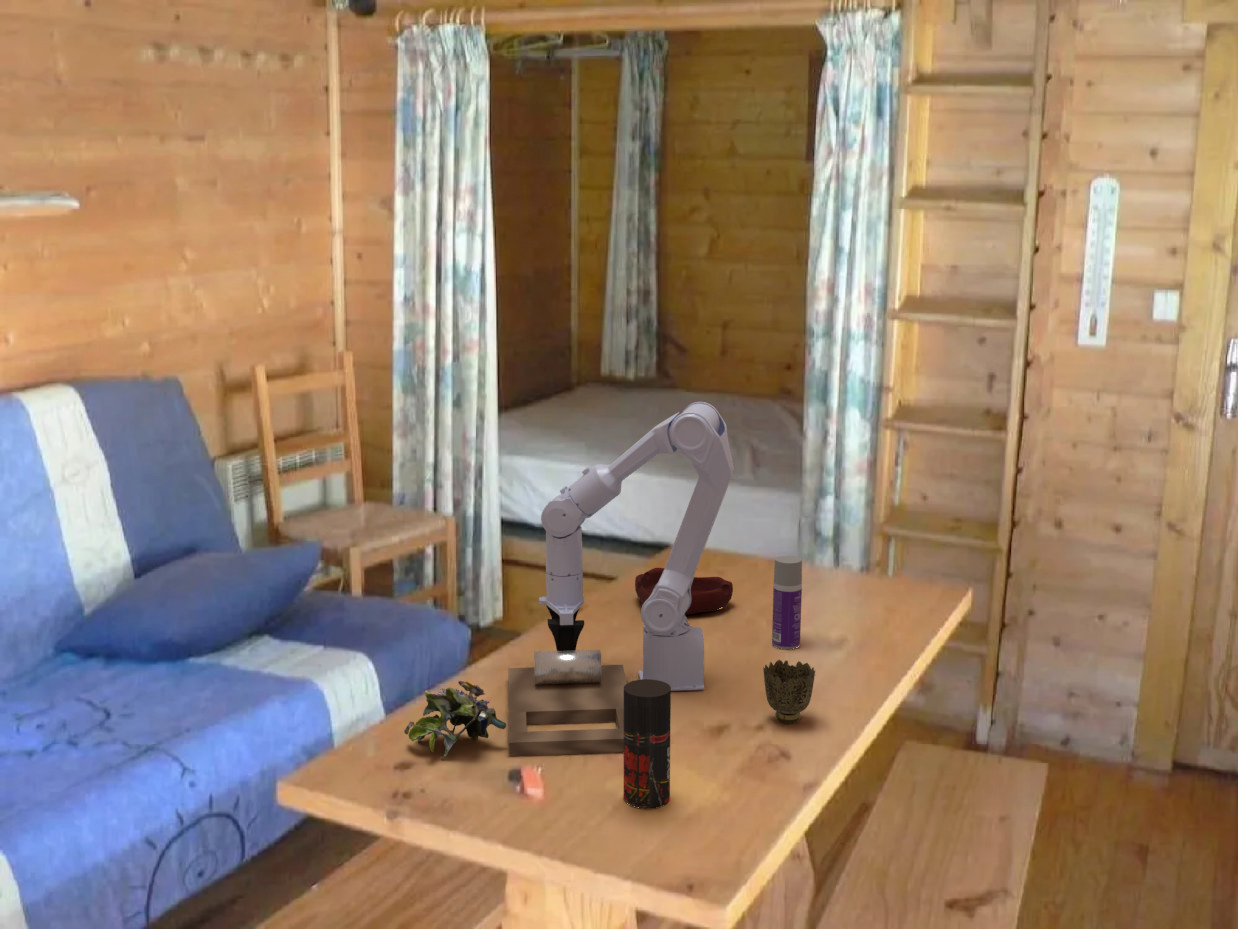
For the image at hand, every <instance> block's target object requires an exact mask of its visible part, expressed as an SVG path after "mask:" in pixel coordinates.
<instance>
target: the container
mask: <svg viewBox="0 0 1238 929" xmlns="http://www.w3.org/2000/svg"><path fill="white" fill-rule="evenodd" d="M802 562H803V558H801V557H799V556H795V555H778V556H776V557H775V558H774V569H773V570H774V571H773V572H774V573H773V587H772V588H773V591H772V627H771V628H772V633H771V634H772V635H771V645H772V644H773V645H774V646H775V647H777V648H776V649H778V648H782V649H781V650H783V649H792V650H794V649H793V648H796V647H798V646H799V645H800V646H801V628H802V627H801V626H802V624H801V622H802V621H801V620H802V593H803V592H802V590H803V589H802V588H803V587H802V586H803V585H802V584H803V581H802V580H803V568H802V567H803V563H802ZM773 645H772V646H773ZM775 647H774V648H775Z"/></svg>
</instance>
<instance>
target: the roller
mask: <svg viewBox="0 0 1238 929" xmlns="http://www.w3.org/2000/svg"><path fill="white" fill-rule="evenodd" d="M533 663H534V664H533V667H534V677H535V685H547V684H579V683H601V678H602V668H601V665H602V652H601V649H579V650H578V649H576V650H568V651H557V650H541V651H533Z"/></svg>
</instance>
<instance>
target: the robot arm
mask: <svg viewBox="0 0 1238 929" xmlns="http://www.w3.org/2000/svg"><path fill="white" fill-rule="evenodd" d="M727 427H728V426H727V423H726V422H725V420H724V419H723V417H722V416H721V414H720V412H719V411H718V409H716V407H714V406H713V405H712V404H710V403H708V402H704V401H695V402H692V403H690V404H689V405H687V406H686V407H685V408H684V409H683V411H682V412H681V413H680V411H678V412H676V413H675V414H673V415H671V416H670V417H667V418H666V419H664V420H663V421H662V422H660V423H658V424H657V425H655V426H654V427H653V428H652V429H650V430H649V431H648V432H646V434H645V435H644V436H642V437H641V438H640V439H638V440H637V442H635V443H634V444H633V445H632V446H630V447H629V448H627V450H625V452H623V453H622V454H621V455H620V456H619V457H618V458H616V459H615V460H614V461H613V462H611V464H601V463H599V464H598V463H597V464H595V465H594V466H593V467H592V466H591V465H588V466H587V467H586V468H584V469H583V470H582V471H581V473H582V474H583V475H582V476H580V477H579V478H578V479H577V480H575V481H574V482H573V483H572V484H570V485H569V486H567V485H565V486H563V487H562V488H561V489H559V490H560V491H559V493H560V494H558V495H556V497H554V498H553V499H552V500H550V501H549V502H547V504H546V505H545V507H544V508H543V510H542V512H541V514H540V522H541V525H542V527H543V529H544V530H545V590H546V591H545V592H546V595H545V596H540V597H538V604H539V605H542V606H543V605H544V606H545V607H546V609H547V610H548V612H549V614H550V617H551V618H548V619H547V626H548V629H549V630H550V633H551V634H552V636H553V639H554V643H555V647H556V649H555V650H556V651H568V650H577V644H578V641H579V638H580V634H581V633H582V631H583V629H584V627H585V620H584V619H583V620H580V619H579V620H578V619H577V617H578V613H579V611H580V608H581V607H582V606H583V605H584V604H585V597H584V590H583V588H584V587H583V586H584V585H583V584H584V582H583V581H584V580H583V578H584V574H583V571H584V570H583V569H584V568H583V566H584V565H583V564H584V563H583V539H582V537H583V536H582V534H583V532H582V531H583V530H582V528H583V527H582V525H583V523H584V522H585V520H586V519H589V518H591V517H593V516H594V515H595V514H596V513H598V512H599V511H600V510H601V509H602V508H604V507H605V506H607V505H608V504H609V503H610V502H612V501H613V500H614V499H615V498H617V497H618V496H619V495H620V494H621V491H622V483H623V480H625V479H627V478H628V477H629V476H630V475H632V474H634V472H636V471H638V470H639V469H640V468H641V467H643V466H644V465H645V464H647V463H648V462H649V461H651V460H652V459H653V458H655V457H656V456H658V455H659V454H670V455H671V454H674V453H676V452H677V450H678V452H680V453H681V454H682V455H683V456H685V458H686V459H688V460H689V461H690V462H691V464H692V466H693V468H694V469H695V471H696V473H697V474H698V478H697V481H696V485H695V486H694V489H693V492H692V494H691V497H690V499H689V503H688V506H687V508H686V510H685V513H684V515H683V518H682V521H681V524H680V526H679V530H678V532H677V534H676V537H675V540H674V542H673V546H672V547H671V550H670V553H669V556H668V558H667V561H666V563H665V566H664V568H665V569H664V571H663V573H662V575H661V578H660V580H659V582H658V583H657V584H656V586H655V587H654V589H653V591H652V594H651V595H650V597H649V598H648V599H647V600H646V601H645V602H644V604H643V606H642V605H641V609H640V618H641V621H642V623H643V624H642V629H643V631H642V670H641V669H640V670H638V673H637V674H638V677H639V680H642V679H652V680H659V681H663V682H665V683H667V684H669V685H670V687H671V692H675V691H678V692H679V691H680V692H681V691H703V690H705V683H704V682H705V679H704V678H705V676H704V675H705V642H704V640H705V639H704V632H703V629H702V627H701V626H692V625H690V624H691V623H690V622H689V620H688V618H687V615H685V612H686V611H687V610H688V608H689V607H690V604H691V585H692V582H693V579H694V577H695V574H696V571H697V569H698V566H699V564H700V562H701V558H702V555H703V553H704V550H705V548H706V546H707V543H708V540H709V537H710V535H711V532H712V529H713V527H714V524H715V522H716V519H717V517H718V514H719V511H720V509H721V506H722V503H723V501H724V498H725V496H726V494H727V491H728V488H729V485H730V482H731V480H732V477H733V475H734V471H735V470H734V469H735V467H734V460H733V457H732V451H731V448H730V442H729V438H728V428H727Z"/></svg>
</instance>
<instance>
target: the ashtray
mask: <svg viewBox="0 0 1238 929" xmlns="http://www.w3.org/2000/svg"><path fill="white" fill-rule="evenodd" d="M664 569H665V567H654V568H651V569H650V570H647V571H646V572H644V573H640V574H638V575H636V576H635V579H634V580H635V581H634V584H635V585H634V586H635V587H634V588H635V593H636V595H637V597H638V599H639V601H640V604H641V607H642V606H643V604H644V602H645V601H646V600H647V599H648V598H649V597H650V595H651V594H652V591H653V589H654V587H655V586H656V584H657V583H658V582H659V580H660V578H661V575H662V573H663V571H664ZM733 590H734V585H733V583H732V582H731V581H729V580H726V579H725V578H722V577H721V576H706V577H705V576H704V577H701V576H698V577H697V576H694V579H693V582H692V585H691V604H690V607H689V608H688V610H687V611H686V612H685V616H687V614H688V615H691V614H699V613H708V612H712V611H718V610H717V609H719V608H721V607H725V606H726V605H727V604H728V603H729V602H730V601H731V599H732V597H733V592H734V591H733Z"/></svg>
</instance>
